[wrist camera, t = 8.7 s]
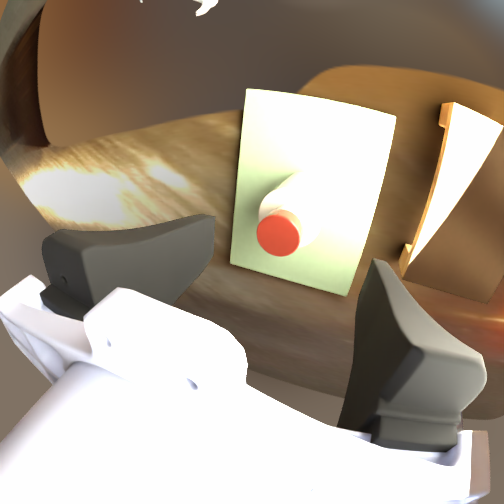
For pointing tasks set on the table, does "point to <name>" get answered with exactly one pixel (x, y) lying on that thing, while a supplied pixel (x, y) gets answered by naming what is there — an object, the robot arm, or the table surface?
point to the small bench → (462, 211)
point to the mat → (319, 164)
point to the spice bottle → (292, 214)
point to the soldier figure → (204, 6)
